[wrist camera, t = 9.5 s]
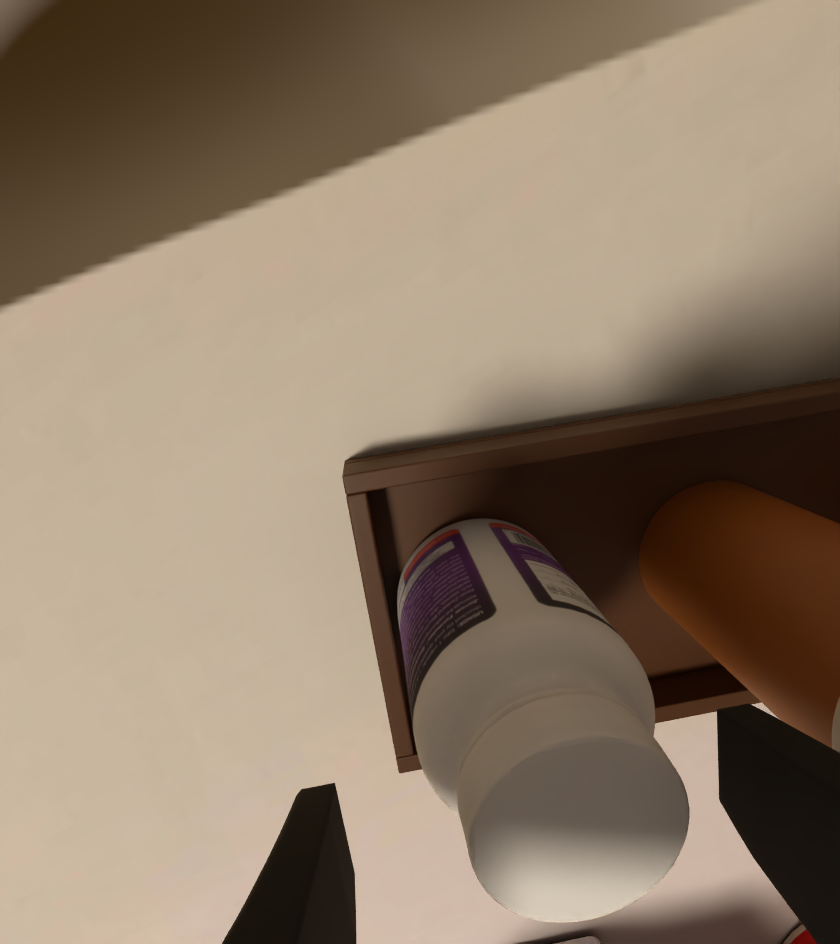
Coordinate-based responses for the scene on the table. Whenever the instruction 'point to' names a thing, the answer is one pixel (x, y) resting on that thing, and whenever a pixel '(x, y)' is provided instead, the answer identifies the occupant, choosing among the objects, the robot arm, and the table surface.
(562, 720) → the pill bottle
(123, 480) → the table surface
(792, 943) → the beverage can
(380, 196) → the table surface
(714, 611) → the amber bottle middle
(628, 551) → the tray
